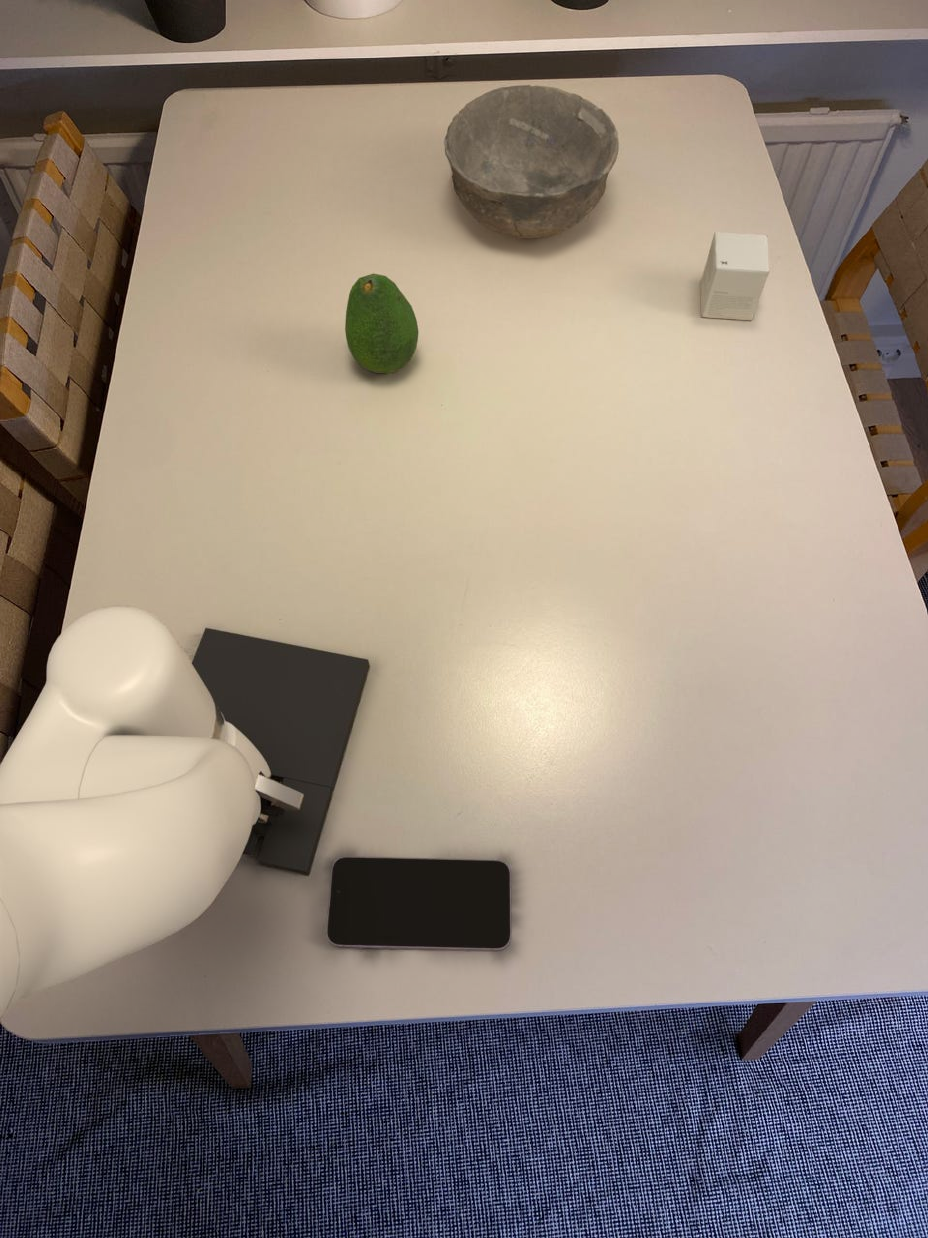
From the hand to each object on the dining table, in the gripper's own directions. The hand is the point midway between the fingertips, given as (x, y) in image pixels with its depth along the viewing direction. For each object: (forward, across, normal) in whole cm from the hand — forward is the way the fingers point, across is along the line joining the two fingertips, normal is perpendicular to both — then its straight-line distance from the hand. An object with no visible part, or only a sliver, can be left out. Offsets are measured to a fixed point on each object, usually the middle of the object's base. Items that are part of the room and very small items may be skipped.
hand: (227, 809), depth 78 cm
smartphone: (+2, +18, -4) cm, 18 cm away
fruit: (+2, 0, +54) cm, 54 cm away
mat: (+2, 0, +6) cm, 7 cm away
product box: (+2, +37, +72) cm, 81 cm away
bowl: (+2, +11, +82) cm, 83 cm away
